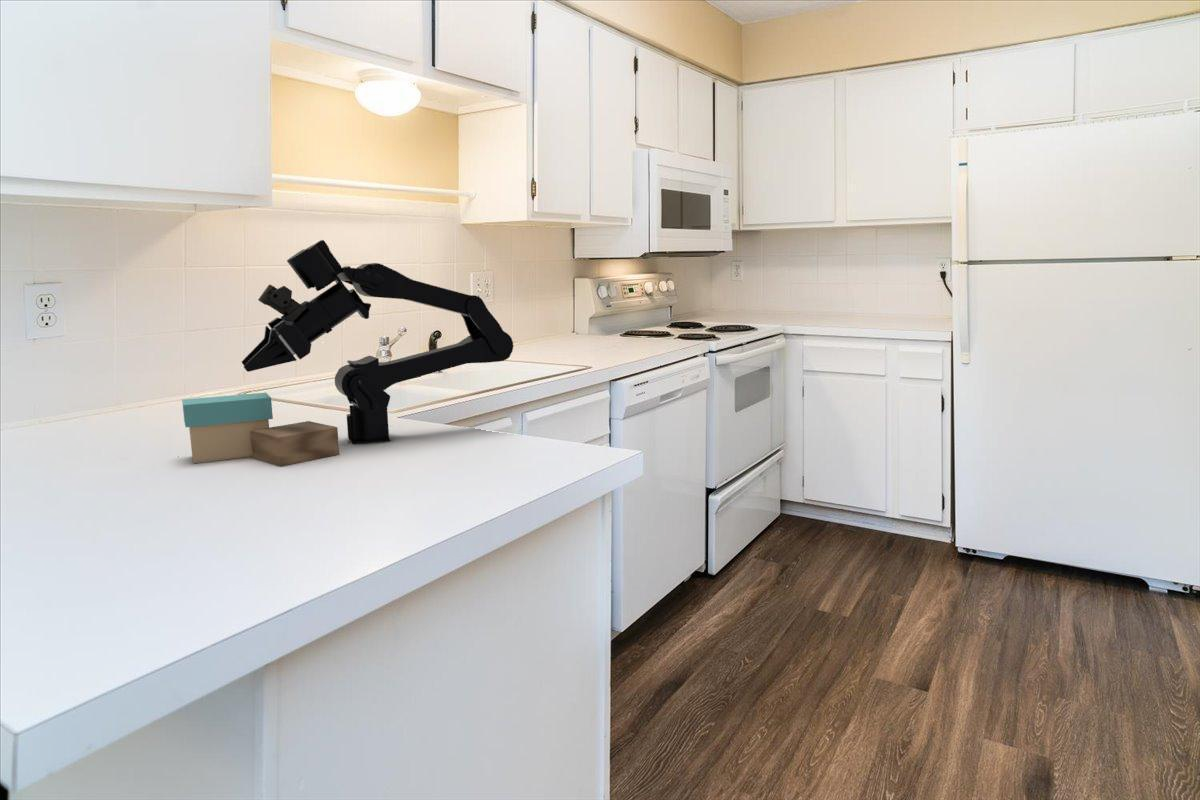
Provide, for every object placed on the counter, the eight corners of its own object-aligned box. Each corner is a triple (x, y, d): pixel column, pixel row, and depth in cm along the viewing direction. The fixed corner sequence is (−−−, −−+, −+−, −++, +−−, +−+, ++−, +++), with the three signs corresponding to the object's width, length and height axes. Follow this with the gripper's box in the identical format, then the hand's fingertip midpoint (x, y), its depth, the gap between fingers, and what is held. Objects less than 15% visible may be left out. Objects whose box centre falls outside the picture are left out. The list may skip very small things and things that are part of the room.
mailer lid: (267, 413, 133) (266, 392, 133) (272, 418, 128) (271, 397, 127) (184, 420, 127) (182, 399, 127) (185, 427, 122) (183, 405, 121)
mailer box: (267, 448, 133) (262, 395, 132) (271, 454, 129) (266, 399, 127) (192, 456, 128) (186, 402, 127) (193, 463, 123) (187, 406, 122)
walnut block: (310, 447, 134) (308, 421, 133) (339, 454, 128) (337, 427, 127) (252, 458, 126) (250, 430, 125) (280, 466, 120) (278, 437, 120)
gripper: (289, 273, 138) (210, 324, 134) (300, 270, 122) (210, 328, 117) (329, 325, 142) (253, 376, 138) (344, 329, 126) (259, 388, 121)
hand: (244, 366), depth 128 cm, fingers open, 9 cm apart
